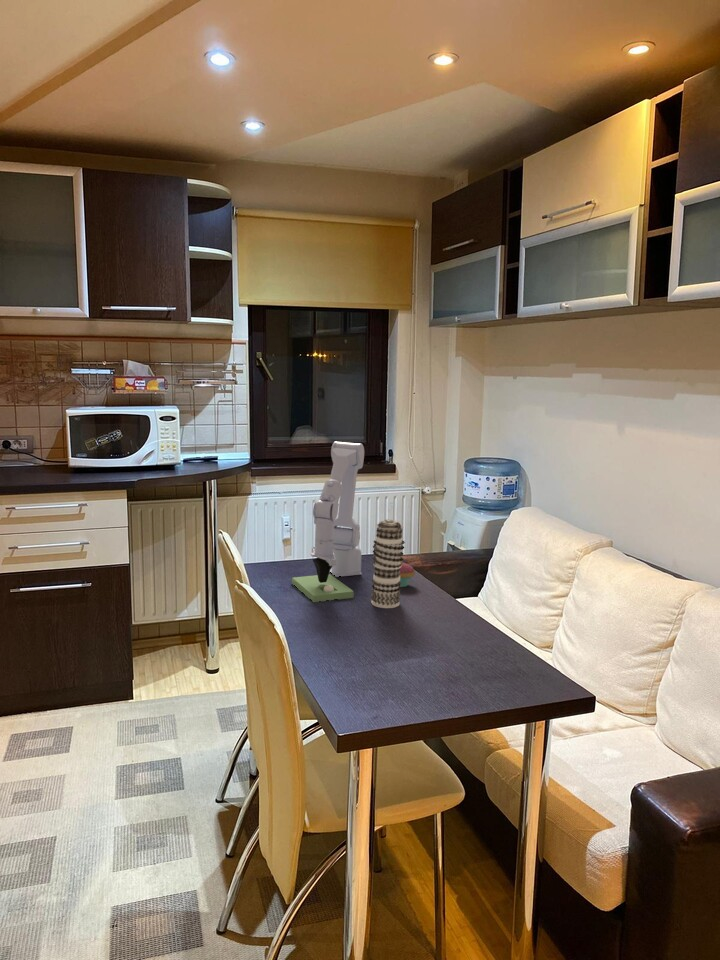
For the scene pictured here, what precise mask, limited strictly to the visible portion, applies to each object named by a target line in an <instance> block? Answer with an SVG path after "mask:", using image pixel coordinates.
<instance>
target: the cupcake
mask: <svg viewBox="0 0 720 960" xmlns="http://www.w3.org/2000/svg"><path fill="white" fill-rule="evenodd" d="M400 563H401V565H402V567H401V568H400V582H401V584H400V587H401V588H406V587H408V585H409V582H410V580H411V578H412V577H414V576H415V571H416V570H415V569H414V567H413V566H412V565H411V564H409V563H405V562H402V561H400Z"/></svg>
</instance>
